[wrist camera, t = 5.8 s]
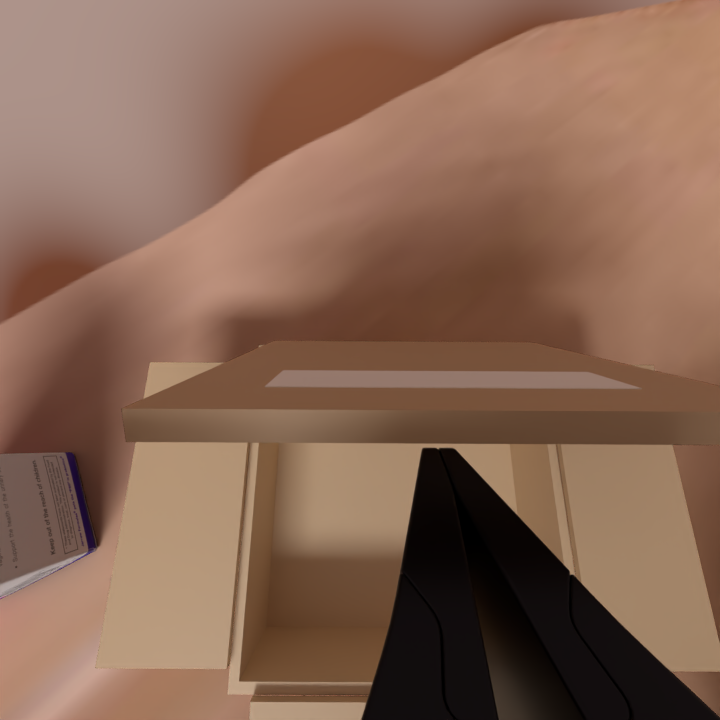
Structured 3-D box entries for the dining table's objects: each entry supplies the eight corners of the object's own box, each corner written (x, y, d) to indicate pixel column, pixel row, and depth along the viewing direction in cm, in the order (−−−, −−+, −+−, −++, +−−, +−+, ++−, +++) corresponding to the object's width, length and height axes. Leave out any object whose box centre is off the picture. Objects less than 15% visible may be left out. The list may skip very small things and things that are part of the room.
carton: (657, 761, 15) (778, 891, 10) (143, 759, 15) (55, 887, 10) (585, 365, 19) (648, 344, 15) (198, 363, 19) (153, 342, 15)
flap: (529, 355, 15) (823, 446, 5) (274, 354, 15) (125, 443, 5) (530, 341, 15) (834, 411, 5) (274, 340, 15) (121, 407, 5)
